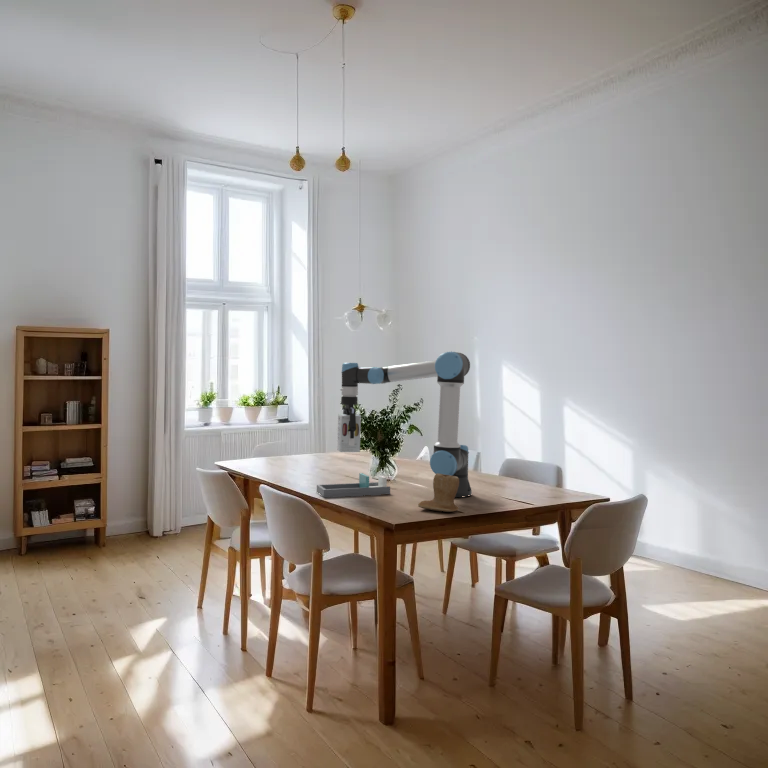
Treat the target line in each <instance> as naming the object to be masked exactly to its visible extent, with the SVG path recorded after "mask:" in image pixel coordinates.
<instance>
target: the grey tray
mask: <svg viewBox="0 0 768 768" xmlns="http://www.w3.org/2000/svg"><path fill="white" fill-rule="evenodd" d="M369 486H378V482H377V481H375V482H373V481H372V482H369ZM317 492H318V493H320V494H321V495H322V496H324V497H331V498H345V496H351V497H364V496H365V495H371V496H382V495H381V494H390V495H391V486H390V485H389V486H387V487H366V488H359V482H355V483H354V482H353V483H352V482H350V483H328V484H316V493H317ZM318 493H317V494H318ZM321 495H320V496H321ZM363 495H364V496H363ZM322 496H321V497H322ZM342 496H343V497H342ZM365 497H366V496H365Z"/></svg>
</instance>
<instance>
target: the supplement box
mask: <svg viewBox="0 0 768 768" xmlns="http://www.w3.org/2000/svg"><path fill="white" fill-rule="evenodd" d="M355 416H356V430H355V442H354V446H348V433H349V431H348V430H349V421H350V415H345V414H343V413H342V414H339V413H338V415H337V419H338V420H337V440H336V441H337V446H336V448H337V451H338V452H340V453H360V452H361V427H362V426H361V423H362V415H361V414H360V415H359V414H355Z"/></svg>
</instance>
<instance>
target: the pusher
mask: <svg viewBox="0 0 768 768" xmlns="http://www.w3.org/2000/svg"><path fill="white" fill-rule="evenodd" d="M358 476H359V477H358V478H359V479H358V480H359V481H358V483H359V488H366V487H387V480H388V479H387V477H386V476H383V475H378V478H377V479H378V480H377V481H378V486H369V483H370V476H369V475H367V474H364V473H363V472H360V473H359V474H358Z"/></svg>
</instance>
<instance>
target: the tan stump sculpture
mask: <svg viewBox="0 0 768 768" xmlns="http://www.w3.org/2000/svg"><path fill="white" fill-rule="evenodd" d="M432 485H433V486H432V487H433V499H430V500H423V501H420V502H418V505H417V507H418V508H421V509H425V510H428V511H436V512H442V511H443V513H445V512H447V513H449V512H450V513H452V512H456V511H458V510H459V509H460V508H459V506H458V505H456V504H455V495H456V493H457V490H458V486H459V478H458V477H456V476H451V475H445V474H439V473H437V474H435V475H434V476H433V482H432Z"/></svg>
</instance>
